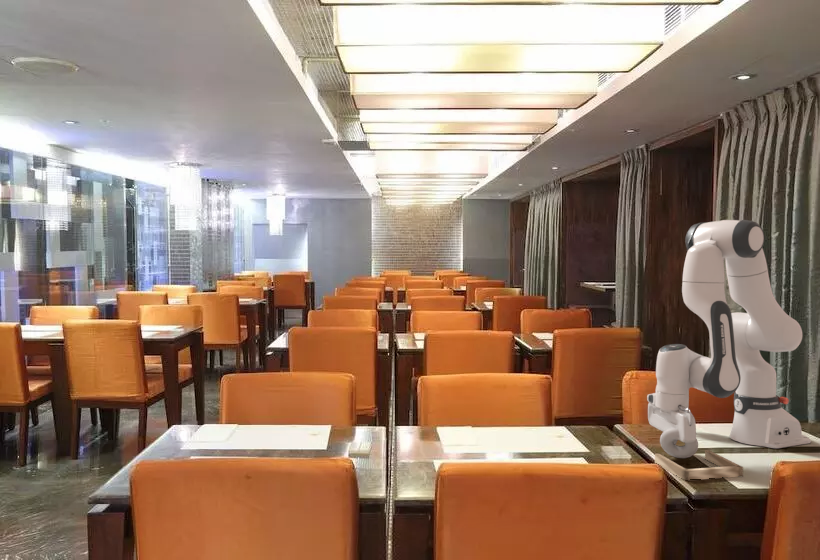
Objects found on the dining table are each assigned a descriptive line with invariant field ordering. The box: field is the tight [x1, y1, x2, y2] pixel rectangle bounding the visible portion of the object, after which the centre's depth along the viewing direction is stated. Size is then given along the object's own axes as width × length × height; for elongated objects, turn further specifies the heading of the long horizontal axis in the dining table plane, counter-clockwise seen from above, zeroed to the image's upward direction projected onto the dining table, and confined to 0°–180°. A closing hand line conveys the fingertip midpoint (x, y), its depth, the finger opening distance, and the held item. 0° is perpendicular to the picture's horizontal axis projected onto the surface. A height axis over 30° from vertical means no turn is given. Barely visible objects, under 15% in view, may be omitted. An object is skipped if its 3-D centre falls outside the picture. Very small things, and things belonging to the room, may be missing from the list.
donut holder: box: [654, 449, 744, 481], centre depth 175 cm, size 16×14×2 cm
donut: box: [659, 428, 699, 459], centre depth 181 cm, size 10×4×10 cm, turn 61°
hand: (670, 449), depth 186 cm, fingers closed
